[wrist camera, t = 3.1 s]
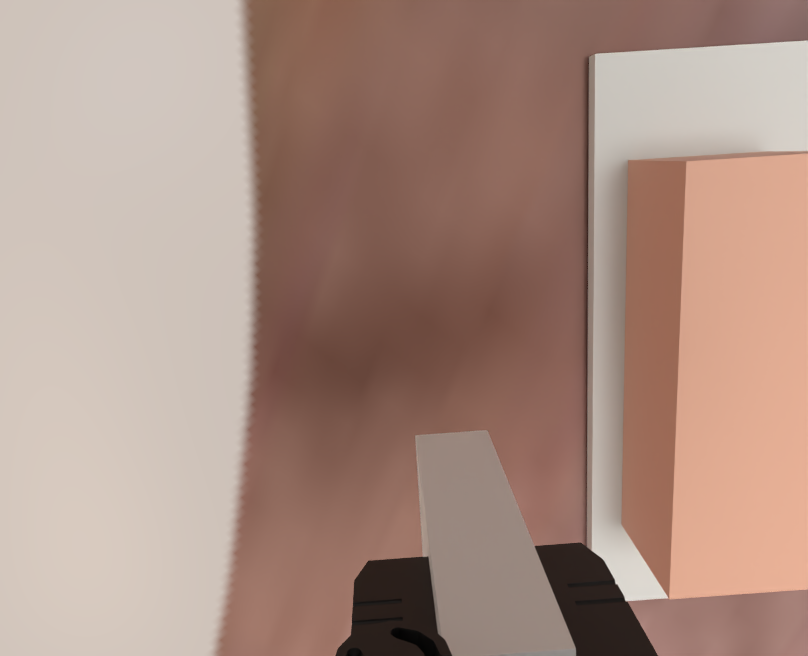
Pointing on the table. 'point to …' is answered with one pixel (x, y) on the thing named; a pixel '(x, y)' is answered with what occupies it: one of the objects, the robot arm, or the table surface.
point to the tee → (717, 372)
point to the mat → (607, 216)
